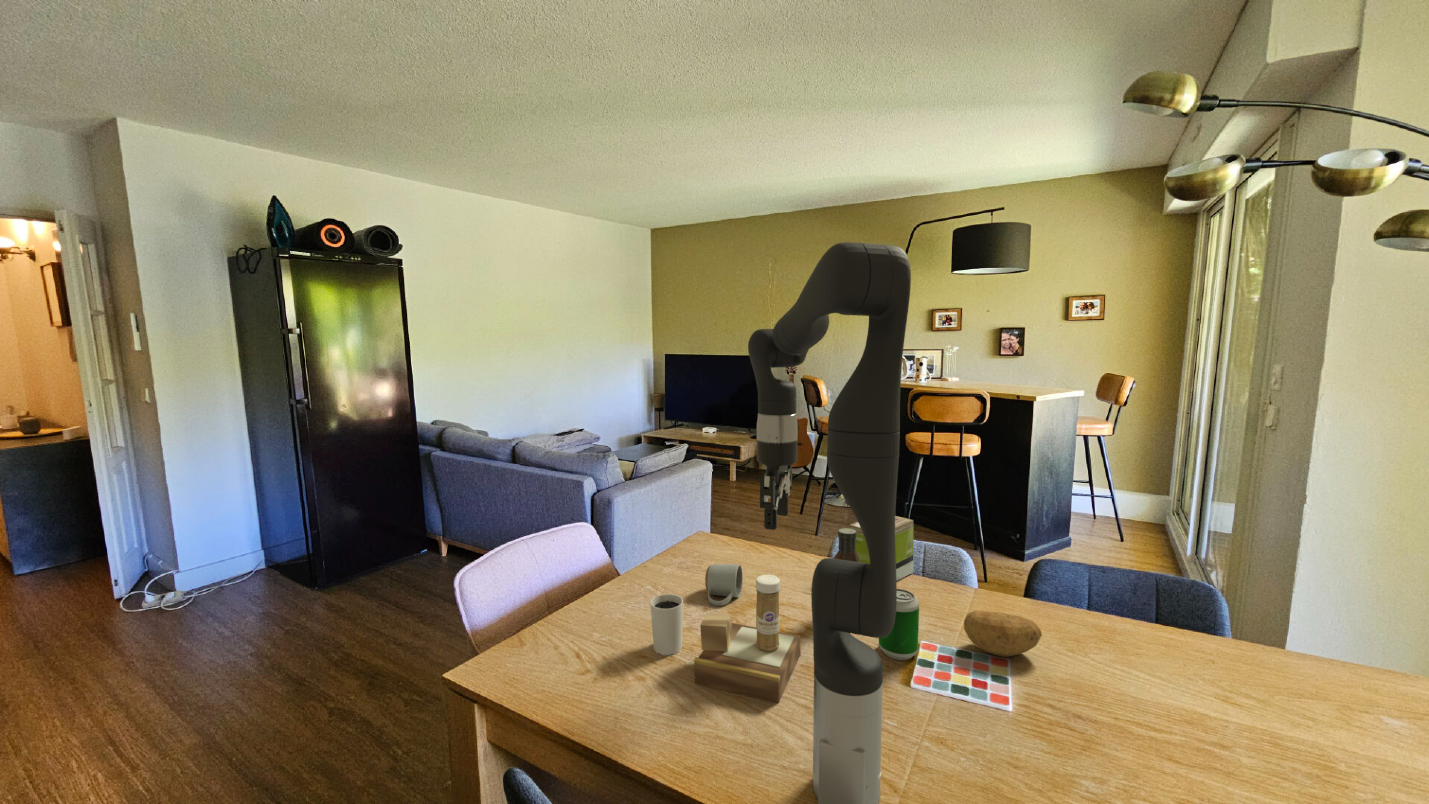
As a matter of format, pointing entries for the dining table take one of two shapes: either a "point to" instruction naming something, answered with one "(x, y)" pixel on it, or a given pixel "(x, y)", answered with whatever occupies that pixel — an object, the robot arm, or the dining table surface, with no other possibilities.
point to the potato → (1001, 632)
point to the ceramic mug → (723, 582)
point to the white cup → (667, 623)
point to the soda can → (903, 628)
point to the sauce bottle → (847, 545)
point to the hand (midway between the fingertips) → (776, 521)
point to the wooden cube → (716, 632)
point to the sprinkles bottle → (767, 612)
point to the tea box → (901, 540)
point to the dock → (749, 665)
